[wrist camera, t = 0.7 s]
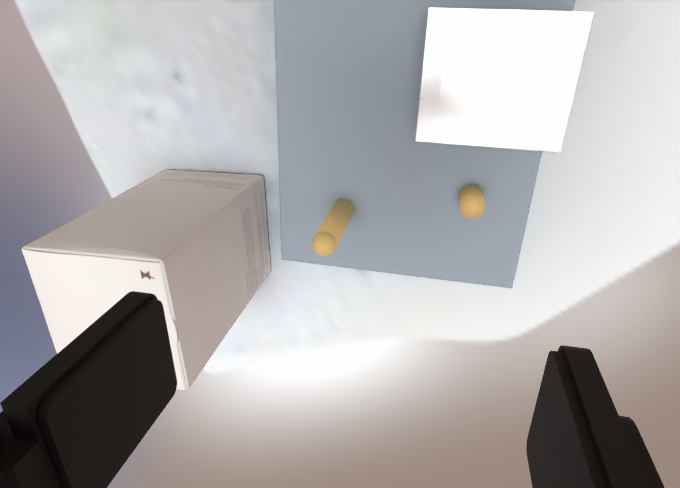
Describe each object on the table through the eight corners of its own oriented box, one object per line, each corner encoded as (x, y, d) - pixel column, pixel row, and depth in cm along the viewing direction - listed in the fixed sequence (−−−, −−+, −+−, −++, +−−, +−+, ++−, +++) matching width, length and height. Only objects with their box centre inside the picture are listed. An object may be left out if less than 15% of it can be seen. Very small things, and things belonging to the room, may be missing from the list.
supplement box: (162, 166, 39) (13, 243, 26) (265, 172, 37) (163, 258, 24) (178, 264, 43) (56, 374, 29) (272, 273, 41) (188, 395, 28)
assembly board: (281, -21, 31) (227, -33, 23) (571, -15, 28) (617, -28, 20) (287, 250, 40) (249, 305, 32) (509, 277, 37) (525, 345, 29)
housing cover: (431, 9, 28) (428, 7, 25) (572, 12, 27) (593, 11, 23) (419, 125, 32) (415, 141, 28) (545, 134, 30) (560, 152, 26)
